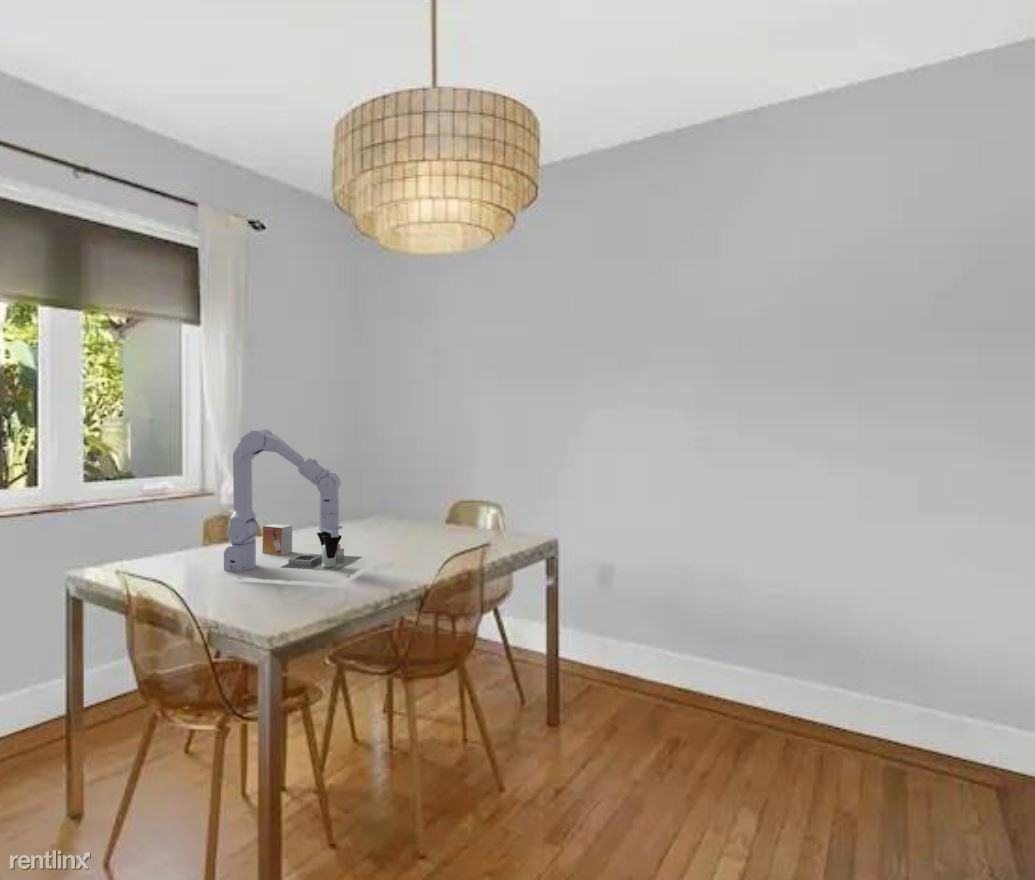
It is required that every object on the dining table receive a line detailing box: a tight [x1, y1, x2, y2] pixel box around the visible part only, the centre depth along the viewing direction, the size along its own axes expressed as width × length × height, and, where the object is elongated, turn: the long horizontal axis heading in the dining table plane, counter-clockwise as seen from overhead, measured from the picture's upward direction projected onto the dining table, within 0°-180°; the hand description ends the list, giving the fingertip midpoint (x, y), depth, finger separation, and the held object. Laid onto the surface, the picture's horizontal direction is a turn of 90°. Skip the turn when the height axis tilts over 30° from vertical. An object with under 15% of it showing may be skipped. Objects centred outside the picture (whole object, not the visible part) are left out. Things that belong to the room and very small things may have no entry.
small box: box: [262, 523, 293, 556], centre depth 220 cm, size 8×6×10 cm
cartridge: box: [321, 543, 336, 567], centre depth 201 cm, size 4×4×7 cm
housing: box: [280, 547, 363, 572], centre depth 207 cm, size 19×19×4 cm
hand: (329, 556), depth 201 cm, fingers open, 4 cm apart
